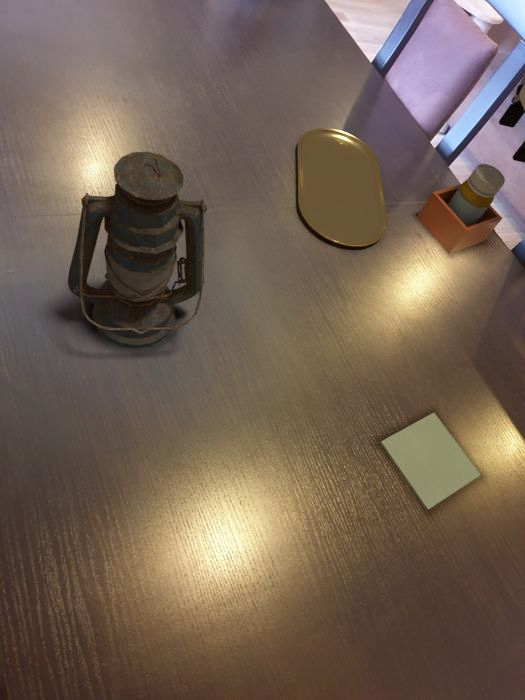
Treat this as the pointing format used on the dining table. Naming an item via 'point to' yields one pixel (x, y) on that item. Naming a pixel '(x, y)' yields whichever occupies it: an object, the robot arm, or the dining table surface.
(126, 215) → the lantern
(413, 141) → the dining table surface
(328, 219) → the serving platter
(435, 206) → the box
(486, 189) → the bottle
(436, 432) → the mat
